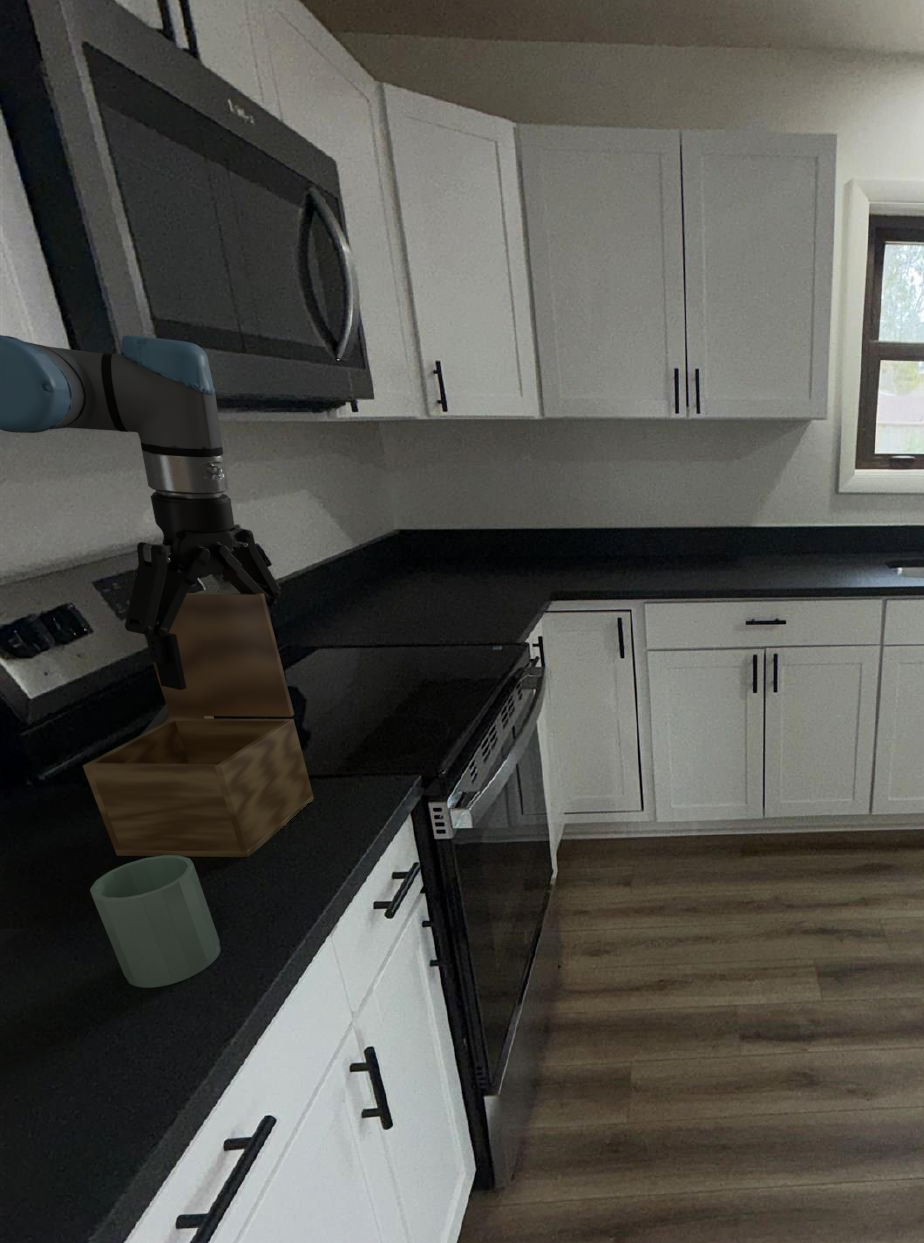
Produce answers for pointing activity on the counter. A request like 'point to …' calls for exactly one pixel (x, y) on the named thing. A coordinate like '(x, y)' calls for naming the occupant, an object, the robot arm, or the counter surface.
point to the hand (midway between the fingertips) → (220, 670)
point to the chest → (201, 787)
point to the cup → (157, 920)
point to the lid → (227, 658)
